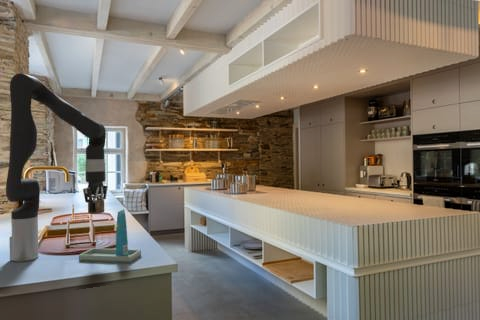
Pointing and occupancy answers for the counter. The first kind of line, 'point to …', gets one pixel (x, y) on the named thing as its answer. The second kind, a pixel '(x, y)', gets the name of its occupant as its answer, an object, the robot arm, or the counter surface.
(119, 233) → the tube
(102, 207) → the walnut block
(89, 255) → the tray
